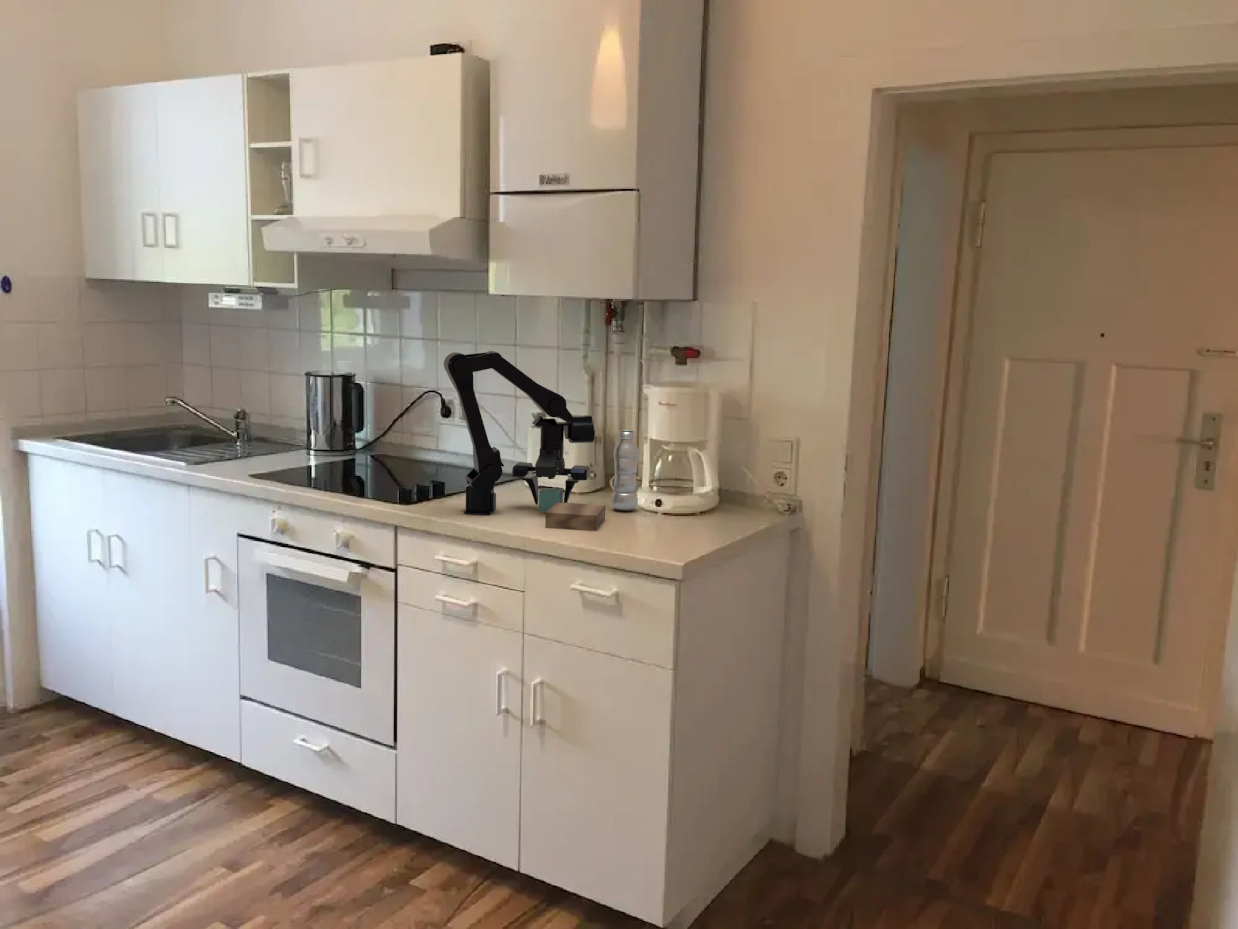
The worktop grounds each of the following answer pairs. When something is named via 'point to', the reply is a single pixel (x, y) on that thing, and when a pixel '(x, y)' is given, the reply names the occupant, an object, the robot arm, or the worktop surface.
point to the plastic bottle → (625, 472)
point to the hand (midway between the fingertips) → (550, 505)
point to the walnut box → (575, 516)
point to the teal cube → (549, 498)
